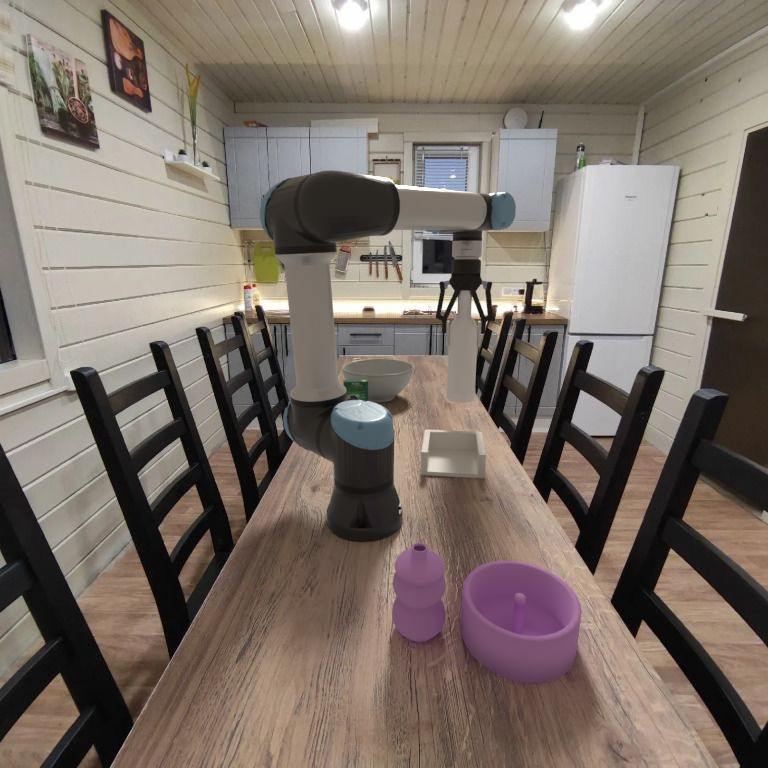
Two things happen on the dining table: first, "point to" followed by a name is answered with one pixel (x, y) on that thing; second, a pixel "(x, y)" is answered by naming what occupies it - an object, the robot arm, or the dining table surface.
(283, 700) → the dining table surface
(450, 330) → the bottle
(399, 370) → the decorative bowl
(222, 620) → the dining table surface
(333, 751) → the dining table surface
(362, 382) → the coffee box
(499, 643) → the container set
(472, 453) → the bottle rest
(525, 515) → the dining table surface
